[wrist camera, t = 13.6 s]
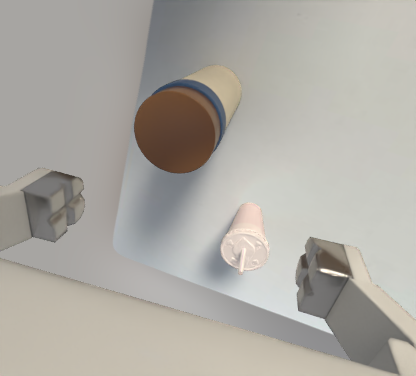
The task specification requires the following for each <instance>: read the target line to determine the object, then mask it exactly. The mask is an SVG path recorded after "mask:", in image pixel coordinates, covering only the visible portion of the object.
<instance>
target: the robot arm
mask: <svg viewBox="0 0 416 376" xmlns="http://www.w3.org/2000/svg"><path fill="white" fill-rule="evenodd" d="M83 190H84V185H83V180H82V179H81V178H79V177H75V176H71V175H68V174H64V173H61V172H57V171H53V170H49V169H45V168H37V169H36V170H34V171H32V172H30V173H29V174H27V175H25V176H23V177H21V178H20V179H18V180H16V181H15V182H13V183H11V184H9V185H7V186H0V251H2V250H4V249H7V248H9V247H12V246H14V245H16V244H19V243H21V242H23V241H26V240H28V239H30V238H32V237H35V238H39V239H43V240H47V241H51V242H56V241H57V240H58V239H59V238H60V237H61V236H63V235H64V234H65V233H66V232H67V226H69V225H72V224H75V223H76V222H77V221H78V220H79V219H80V218H81V216H82V214H83V212H84V207H85V200H84V198H83V197H82V195H81V194H80V193H81V192H82V191H83ZM305 251H306V253H305V254H304V255H302V256H301V257H300V259H299V262H298V265H297V269H296V284H297V285H298V287H299V290H298V292H297V303H298V311H300V312H304V313H307V314H310V315H313V316H316V317H320V318H323V319H325V321H326V323H327V324H328V326H329V327H330V329H331V330H332V332H333V334H334V335H335V337H336V338H337V339H338V341H339V343H340V344H341V346H342V347H343V349H344V351H345V352H346V354H347V355H348V357H349V358H350V360H351V361H350V360H347V359H343V358H340V357H337V356H333V355H330V354H326V353H323V352H320V351H316V350H313V349H309V348H306V347H302V346H299V345H295V344H292V343H288V342H285V341H281V340H278V339H274V338H271V337H268V336H265V335H261V334H258V333H254V332H251V331H248V330H244V329H241V328H237V327H234V326H230V325H227V324H223V323H220V322H217V321H213V320H210V319H207V318H203V317H200V316H197V315H193V314H190V313H186V312H183V311H180V310H176V309H173V308H169V307H166V306H163V305H159V304H156V303H152V302H149V301H145V300H142V299H139V298H135V297H132V296H128V295H125V294H121V293H118V292H115V291H111V290H108V289H104V288H101V287H97V286H94V285H91V284H87V283H83V282H80V281H77V280H73V279H70V278H66V277H63V276H60V275H56V274H53V273H50V272H46V271H43V270H39V269H36V268H32V267H29V266H25V265H22V264H19V263H15V262H12V261H9V260H5V259H1V258H0V376H416V320H415V319H414V318H413V317H412V316H411V315H410V314H409V313H408V312H407V311H405V310H404V309H403V308H402V307H401V306H400V305H399V304H398V303H397V302H396V301H394V300H393V299H392V298H391V297H390V296H389V295H388V294H387V293H386V292H385V291H384V290H382V289H381V288H380V287H379V286H378V285H375V284H373V283H372V281H371V278H370V275H369V273H368V270H367V268H366V265H365V263H364V260H363V258H362V255H361V253H360V250H359V249H358V248H357V247H353V246H348V245H344V244H338V243H334V242H330V241H326V240H321V239H317V238H313V237H310V238H309V239H308V240H307V243H306V245H305Z"/></svg>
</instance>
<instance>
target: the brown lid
mask: <svg viewBox="0 0 416 376" xmlns="http://www.w3.org/2000/svg"><path fill="white" fill-rule="evenodd" d="M134 132H135V138H136V141H137V144H138V146H139V148H140V150H141V152H142V153H143V154H144V156H145V157H146V158H147V159H148V160H149V161H150V162H151V163H152V164H154V165H155V166H157V167H158V168H160V169H162V170H165V171H168V172H172V173H187V172H191V171H194V170H196V169H198V168H200V167H201V166H203V165H204V164H205V163H206V162H207V160H208V159H209V158H210V156H211V154H212V153H213V151H214V149H215V147H216V145H217V143H218V140H219V137H220V120H219V116H218V113H217V111H216V109H215V107H214V105H213V104H212V103H211V101H210V100H209V99H208V98H207V97H206V96H204V95H203V94H202V93H200V92H199V91H197V90H195V89H192V88H189V87H184V86H174V87H169V88H166V89H164V90H162V91H160V92H158V93H156V94H154V95H152V96H150V97H149V98H147V99H146V100H145V101H144V102H143V103H142V105H141V106H140V108H139V109H138V112H137V114H136V117H135V123H134Z"/></svg>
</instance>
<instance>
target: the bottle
mask: <svg viewBox="0 0 416 376" xmlns="http://www.w3.org/2000/svg"><path fill="white" fill-rule="evenodd" d="M174 86H184V87H189V88H192V89H195V90H197V91H199V92H200V93H202V94H203V95H204V96H206V97H207V98H208V99H209V100H210V101H211V103H212V104H213V105H214V107H215V109H216V111H217V113H218V116H219V120H220V137H219V140H218V143H217V145H216V147H215V149H214V151H215V150H216V148H217V147H218V145H219V143H220V141H221V139H222V137H223V135H224V132H225V129H226V128H227V126H228V124H229V122H230V120H231V118H232V116H233V114H234V112H235V111H236V109H237V107H238V105H239V103H240V99H241V85H240V82H239V80H238V78H237V77H236V75H235V74H234V73H233V72H232V71H231V70H229V69H228V68H226V67H224V66H219V65H212V66H208V67H205V68H203V69H201V70H199V71H197V72H195V73H193V74H191V75H188V76H186V77H184V78H182V79H180V80H176V81H173V82H171V83H169V84H166V85H164V86H162V87H160V88H159V89H158V90H156V91H155V92H154V93H153V94H152V95H154V94H156V93H158V92H160V91H162V90H164V89H166V88H169V87H174ZM152 95H151V96H152ZM214 151H213V152H214Z"/></svg>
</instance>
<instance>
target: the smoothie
mask: <svg viewBox="0 0 416 376" xmlns="http://www.w3.org/2000/svg"><path fill="white" fill-rule="evenodd" d="M269 250H270V249H269V244H268V242H267V240H266V237H265V231H264V224H263V217H262V211H261V209H260V207H259V206H258V205H256V204H254V203H245V204H243V205H241V206H240V208H239V210H238V212H237V214H236V216H235V218H234V220H233V223H232V225H231V227H230V229H229V231H228V233H227V234H226V235H225V236H224V237H223V239H222V241H221V247H220V252H221V255H222V257H223V259H224V260H225V262H226V263H227V264H229V265H230V266H232V267H234V268H236V269H239V270H238V274H239V275H242V274H243V270H244V271H250V270H255V269H258V268H260V267H262V266H263V265H264V264H265V263H266V262H267V260H268V257H269Z"/></svg>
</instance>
